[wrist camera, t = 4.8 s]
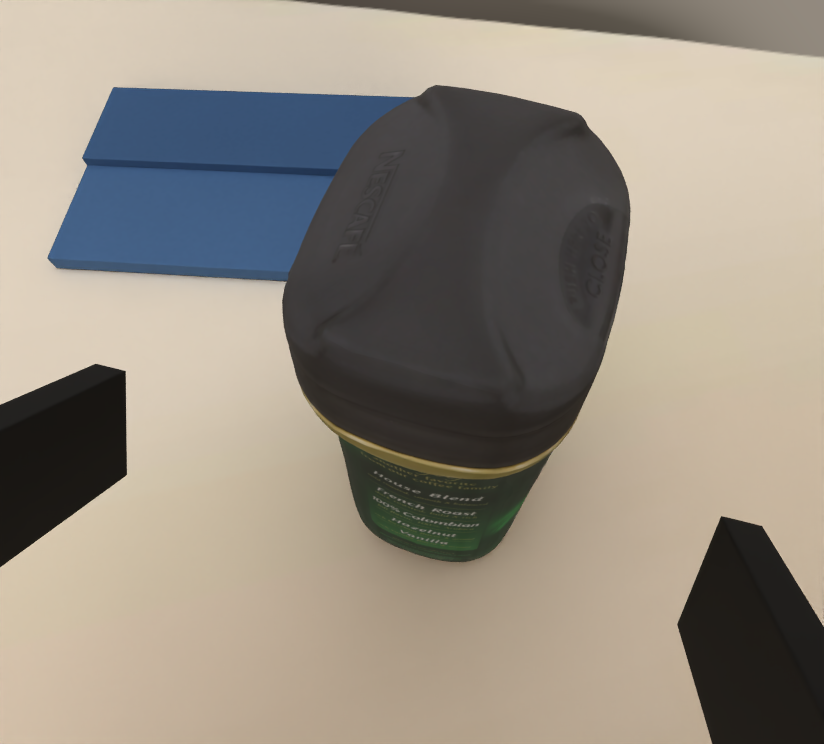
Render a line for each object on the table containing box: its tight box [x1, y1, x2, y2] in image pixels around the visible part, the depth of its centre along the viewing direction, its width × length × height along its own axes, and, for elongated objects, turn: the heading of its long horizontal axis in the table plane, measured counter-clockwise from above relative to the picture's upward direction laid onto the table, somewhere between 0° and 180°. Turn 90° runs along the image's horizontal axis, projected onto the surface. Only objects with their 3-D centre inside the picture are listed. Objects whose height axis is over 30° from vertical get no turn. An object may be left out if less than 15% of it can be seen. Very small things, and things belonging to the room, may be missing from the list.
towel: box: [48, 87, 414, 281], centre depth 37 cm, size 26×14×2 cm, turn 85°
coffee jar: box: [282, 85, 630, 562], centre depth 21 cm, size 10×8×19 cm
